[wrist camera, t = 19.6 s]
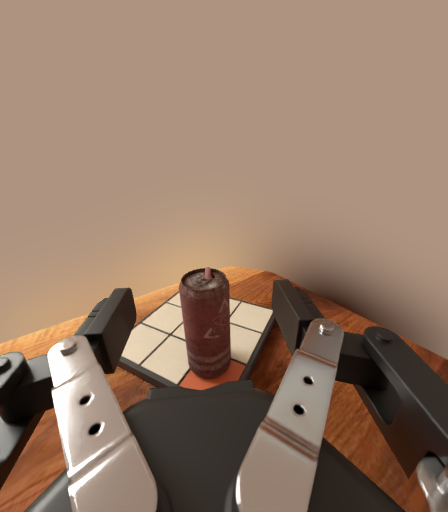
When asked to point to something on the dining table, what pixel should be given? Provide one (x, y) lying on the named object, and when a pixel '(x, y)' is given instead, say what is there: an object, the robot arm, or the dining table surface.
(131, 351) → the board
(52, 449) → the dining table surface
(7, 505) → the dining table surface
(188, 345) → the can
